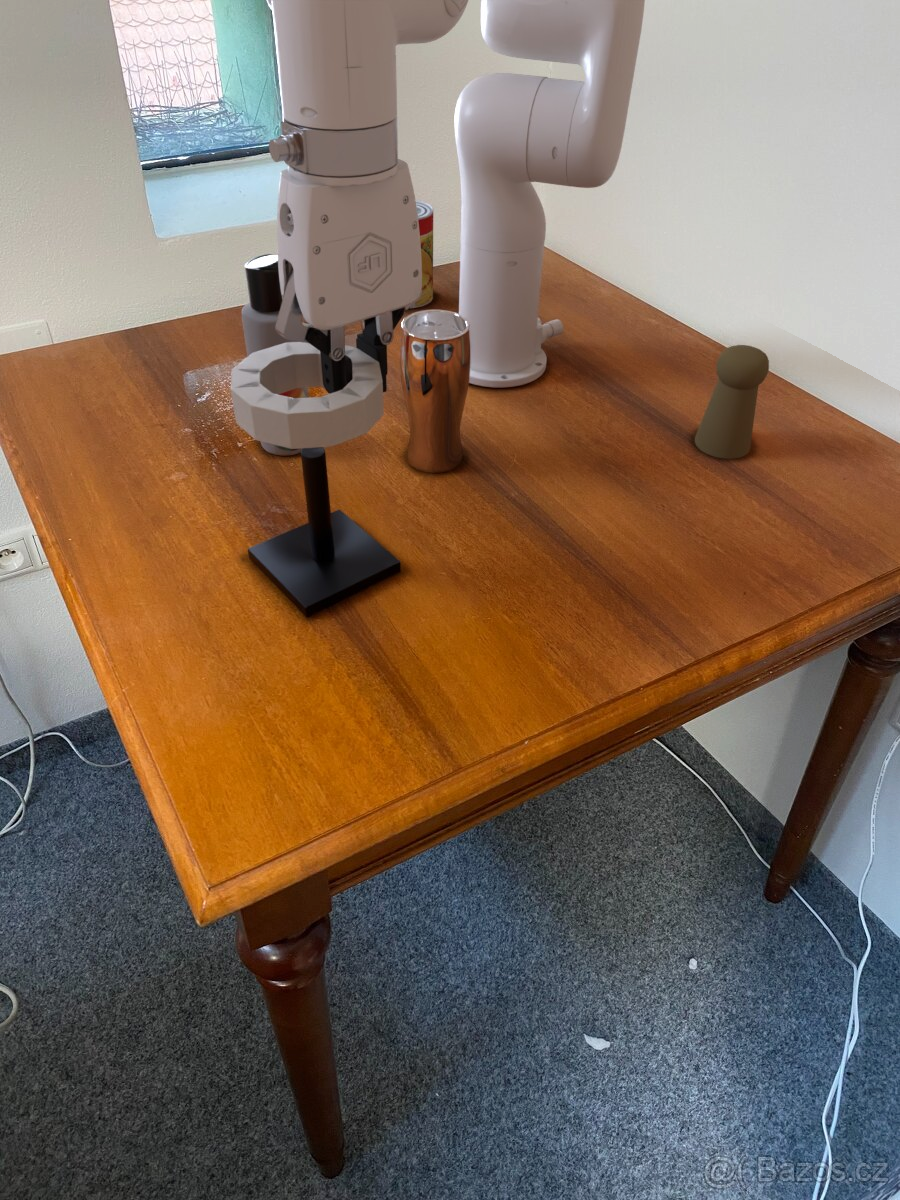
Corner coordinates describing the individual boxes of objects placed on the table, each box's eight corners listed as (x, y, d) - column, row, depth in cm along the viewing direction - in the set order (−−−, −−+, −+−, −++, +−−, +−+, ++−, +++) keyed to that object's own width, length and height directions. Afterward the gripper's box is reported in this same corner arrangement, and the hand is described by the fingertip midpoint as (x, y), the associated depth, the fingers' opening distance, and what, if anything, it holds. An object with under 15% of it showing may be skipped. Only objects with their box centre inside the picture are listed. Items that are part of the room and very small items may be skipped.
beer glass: (475, 447, 95) (481, 314, 85) (454, 481, 90) (458, 345, 80) (415, 434, 97) (414, 303, 87) (392, 468, 92) (388, 333, 82)
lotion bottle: (303, 460, 93) (283, 272, 79) (252, 453, 93) (223, 266, 80) (320, 432, 97) (303, 250, 83) (271, 426, 98) (246, 244, 84)
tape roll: (331, 362, 75) (329, 328, 73) (410, 417, 69) (410, 382, 67) (210, 401, 70) (204, 367, 68) (284, 465, 63) (279, 429, 61)
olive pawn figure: (754, 437, 98) (781, 344, 90) (744, 464, 94) (771, 369, 86) (701, 424, 100) (723, 333, 92) (688, 450, 95) (710, 356, 88)
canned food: (435, 287, 127) (436, 200, 118) (429, 310, 121) (430, 220, 113) (381, 284, 127) (378, 197, 119) (373, 307, 121) (369, 217, 113)
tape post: (340, 518, 85) (330, 407, 77) (401, 571, 79) (398, 457, 71) (248, 558, 80) (228, 444, 72) (306, 617, 75) (291, 501, 67)
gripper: (264, 182, 53) (295, 444, 65) (469, 140, 61) (462, 381, 73) (207, 152, 57) (245, 403, 70) (405, 116, 65) (408, 348, 77)
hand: (356, 390), depth 71 cm, fingers closed on tape roll, 2 cm apart
